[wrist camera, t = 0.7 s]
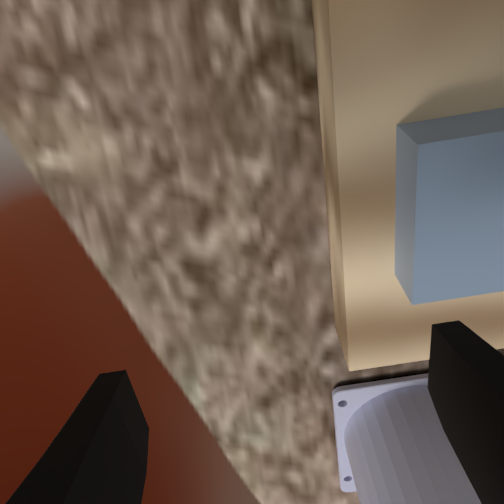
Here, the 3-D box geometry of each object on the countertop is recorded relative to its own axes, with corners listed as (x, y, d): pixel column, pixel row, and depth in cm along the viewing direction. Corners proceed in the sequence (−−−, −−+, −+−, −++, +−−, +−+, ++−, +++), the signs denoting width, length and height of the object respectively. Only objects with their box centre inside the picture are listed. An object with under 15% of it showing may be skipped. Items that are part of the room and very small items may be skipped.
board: (594, 288, 24) (640, 327, 21) (335, 327, 24) (349, 371, 21) (709, -111, 15) (809, -126, 13) (308, -41, 16) (326, -42, 13)
